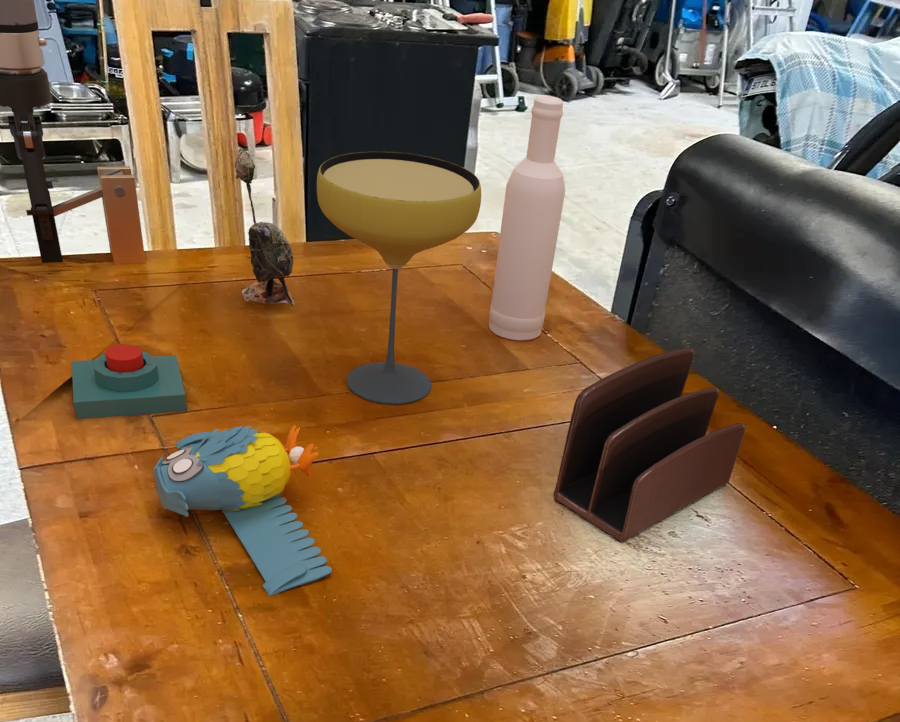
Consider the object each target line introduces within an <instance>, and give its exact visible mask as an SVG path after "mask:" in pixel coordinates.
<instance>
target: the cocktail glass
mask: <svg viewBox="0 0 900 722" xmlns="http://www.w3.org/2000/svg"><path fill="white" fill-rule="evenodd" d="M316 176H317V177H316V196H317V197H316V198H317V202H318V206H319V208H320V210H321V212H322V213H323V215H324V217H326V218H327V220H329V221H330V222H331V223H332V224H333V225H334V226H335V227H336V228H337V229H338V230H340V231H342V233H345V234H346V235H348V236H349V237H351V238H353V239H354V240H357V241H359V242H361V243H363V244H365V245H367V246H368V247H371V248H373V249H374V250H375V251H376V252H378V254H379V256H380V257H381V258H382V260H383V261H384V263H385V265H387V267H389V268H391V269H392V274H391V275H392V276H391V292H390V293H391V295H390V296H391V297H390V313H389V328H388V342H387V351H386V358H385V361H382V362H381V361H380V362H379V361H378V362H370V363H365V364H361V365H359V366H357V367H355V368H353V369H352V370H351V371H349V373H348V374H347V376H346V385H347V387H348V389H349V390H350V391H351V392H352V393H353V394H354V395H356V396H357V397H360V398H361V399H363V400H366V401H368V402H372V403H376V404H382V405H406V404H411V403H412V404H413V403H415V402H418V401H421V400H422V399H424V398H425V397H426V396H428V395H429V394H430V392H431V391H432V381H431V379H430V378H429V376H428V375H427V374H426V373H424V372H423V371H421V370H419V369H418V368H416V367H414V366H411V365H407V364H403V363H398V362H396V360H395V338H396V337H395V336H396V315H397V313H396V312H397V311H396V310H397V294H398V293H397V291H398V278H399V277H398V274H399V269H402V268H404V267H405V266H406V265H407V264H408V263H409V262H410V260H411V259H412V258H413V257H414V256H415V255H416V254H418V253H420V252H424V251H426V250H430V249H433V248H436V247H437V248H438V247H439V246H442V245H444V244H447V243H449V242H451V241H454V240H456V239H458V238H459V237H460V236H462V235H463V234H465V233H466V232H467V231H469V230H470V229H471V228H472V226H473V225H475V223H476V221H477V219H478V216H479V213H480V209H481V205H482V204H481V203H482V186H481V182H480V179H479V178H478V176H476V174H474V173H473V172H472V171H470V170H469V169H467V168H466V167H465V168H464V167H462V166H461V165H458V164H456V163H454V162H450V161H447V160H443V159H440V158H435V157H432V156H427V155H420V154H414V153H408V152H397V151H359V152H349V153H345V154H340V155H337V156H333V157H331V158H329V159H327V160H325V161H324V162H322V163H321V165H320V166H319V168H318V171H317V175H316Z"/></svg>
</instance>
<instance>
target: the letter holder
mask: <svg viewBox="0 0 900 722" xmlns="http://www.w3.org/2000/svg"><path fill="white" fill-rule="evenodd" d="M694 359H695V350H694V349H693V348H690V347H683V348H682V347H681V348H677V349H672V350H668V351H664V352H661V353H657V354H655V355H652V356H649V357H646V358H644V359H642V360H639V361H637V362H634V363H632V364H630V365H628V366H625V367H623V368H621V369H619V370H617V371H615V372H613V373H611V374H609V375H607V376H605V377H603V378H601V379H599V380H597V381H596V382H594V383H592V384H591V385H589V386H586V387H584V389H583V390H582V391H580V393H578V395H577V396H576V399H575V401H574V404H573V408H572V411H571V412H572V413H571V416H570V420H569V423H568V429H567V432H566V438H565V443H564V448H563V452H562V455H561V461H560V464H559V470H558V475H557V480H556V484H555V487H554V491H553V500H554V501H556V502H558V503H560V504H561V505H563V506H564V507H566V508H568V509H569V510H571V511H572V512H574V513H575V514H577V515H578V516H579V517H582V518H583V519H584V520H586V521H587V522H589V523H591V524H592V525H594V526H595V527H597V528H598V529H600V530H601V531H603V532H604V533H606V534H608V535H609V536H611V537H612V538H614V539H615V540H617V541H618V542H620V543H621V542H622V543H623V542H625V541H627V540H628V539H630V538H633V537H634V536H636V535H638V534H639V533H642V532H643V531H645V530H647V529H648V528H649V527H652V526H653V525H656V524H657V523H659V522H660V521H663V520H664V519H665V518H668V517H670V516H671V515H672V514H675V513H677V512H679V511H680V510H682V509H684V508H686V507H688V506H689V505H691V504H693V503H695V502H696V501H698V500H700V499H701V498H703V497H705V496H707V495H709V494H710V493H712V492H714V491H716V490H717V489H719V488H721V487H723V486H725V485H726V484H728V483H729V482H730V480H731V477H732V473H733V471H734V467H735V464H736V462H737V461H736V460H737V458H738V455H739V451H740V448H741V445H742V442H743V439H744V436H745V433H746V425H745V424H744V423H742V422H737V423H734V424H730V425H727V426H724V427H722V428H719V429H717V430H714V431H712V432H709V433H707V432H708V429H709V426H710V423H711V419H712V416H713V413H714V411H715V407H716V404H717V401H718V399H719V396H720V389H719V388H718V387H707V388H703V389H698V390H695V391H691V392H689V393H686V394H683V392H684V389H685V387H686V386H685V385H686V383H687V380H688V377H689V374H690V371H691V368H692V365H693V362H694Z"/></svg>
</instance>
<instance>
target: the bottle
mask: <svg viewBox="0 0 900 722" xmlns="http://www.w3.org/2000/svg"><path fill="white" fill-rule="evenodd" d="M533 100H534V101H533V105H532V107H531V121H530V128H529V129H530V130H529V135H528V142H527V150H526V155H525V156H526V157H524V158H523V159H522V160H521V161H519V162H518V163H517V164H516V165H515V166H514V167H513V170H512V172H511V173H510V176H509V178H508V181H507V183H506V186H505V192H504V193H505V194H504V202H503V207H502V208H503V209H502V217H501V225H500V231H499V232H500V233H499V241H498V249H497V257H496V263H495V264H496V265H495V271H494V272H495V273H494V280H493V287H492V295H491V303H490V307H489V313H488V318H489V319H488V328H489V330H490V331H491V332H492V333H493V334H494V335H496V336H498V337H500V338H503V339H507V340H509V341H519V342H524V341H530V340H534V339H536V338H538V337H539V336H541V334H542V330H543V326H544V323H545V318H546V307H547V301H548V295H549V289H550V284H551V278H552V272H553V266H554V260H555V254H556V250H557V249H556V248H557V243H558V236H559V230H560V225H561V219H562V212H563V207H564V202H565V196H566V186H565V185H566V184H565V178H564V173H563V171H561V169H560V168H559V166H558V165H557V163H556V161H555V157H556V151H557V146H558V145H557V144H558V140H559V132H560V125H561V120H562V118H563V114H564V110H563V106H564V101H563V100H562V99H561V98H559V97H558V96H553V95H543V94H542V95H537V96H536V97H535V98H534V99H533Z"/></svg>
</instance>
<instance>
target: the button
mask: <svg viewBox="0 0 900 722" xmlns="http://www.w3.org/2000/svg"><path fill="white" fill-rule="evenodd" d="M142 352H143V350H142V349H141V348H140V347H138V346H136V345H133V344H117V345H113V346H110V347H109V348H107V349H106V350H105V352H104V354H105V356H106V361H107V367H108V369H109V370H110V371H114V372H119V373H125V372H134V371H137V370H140V369H142V368H143V367H144V362H143V355H142Z"/></svg>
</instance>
